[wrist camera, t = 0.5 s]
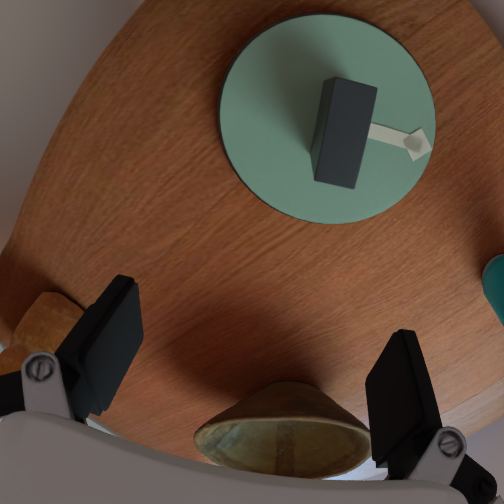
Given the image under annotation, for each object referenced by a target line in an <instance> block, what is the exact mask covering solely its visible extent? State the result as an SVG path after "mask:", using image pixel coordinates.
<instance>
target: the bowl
mask: <svg viewBox="0 0 504 504" xmlns="http://www.w3.org/2000/svg"><path fill="white" fill-rule="evenodd" d="M194 443H195V445H196V447H197V449H198V450H199V451H200V452H201V453H202V454H204V455H205V456H207V457H208V458H209V459H211V460H212V461H213V462H215V463H217V464H218V465H220V466H222V467H226V468H231V469H236V470H242V471H248V472H254V473H261V474H268V475H276V476H285V477H294V478H306V479H325V478H329V477H334V476H339V475H342V474H345V473H347V472H349V471H352V470H354V469H355V468H357V467H359V466H360V465H361V464H363V463H364V462H365V461H366V460H367V459H368V458H369V457H370V456H371V455H372V452H371V438H370V430H369V429H368V428H367V427H366V426H365V425H364V424H363V423H362V422H361V421H359V420H358V419H357V418H356V417H355V416H353V415H352V414H351V413H349V412H348V411H346V410H345V409H343V408H342V407H341V406H339V405H338V404H337V403H336V402H335V401H334V400H332V399H331V398H330V397H329V396H328V395H326V394H325V393H323V392H322V391H321V390H319V389H318V388H316V387H315V386H312V385H310V384H306V383H302V382H295V381H283V382H276V383H272V384H270V385H268V386H266V387H265V388H263V389H262V390H260V391H258V392H256V393H255V394H253V395H251V396H249V397H247V398H245V399H243V400H242V401H240V402H238V403H237V404H235V405H234V406H232V407H230V408H228V409H226V410H225V411H223V412H221V413H220V414H218V415H216V416H215V417H213V418H212V419H210V420H209V421H207V422H206V423H205V424H203V425H202V426H201V427H200V428H198V430H197V431H196V432H195V435H194Z"/></svg>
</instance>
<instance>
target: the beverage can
mask: <svg viewBox="0 0 504 504" xmlns="http://www.w3.org/2000/svg"><path fill="white" fill-rule="evenodd" d="M482 285H483V291H484V295H485V296H486V298H487V300H488V301H489V303H490V304H491V306H492V308H493V309H494V311H495V313H496V314H497V316H498V318H499V319H500V321H501V323H502V324H503V326H504V254H500V255H497V256H495V257H493V258H492V259H491V260H490V261H489V262H488V263H487V265H486V266H485V268H484V270H483V273H482Z"/></svg>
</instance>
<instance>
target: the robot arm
mask: <svg viewBox="0 0 504 504" xmlns="http://www.w3.org/2000/svg"><path fill="white" fill-rule="evenodd" d="M142 341H143V326H142V318H141V309H140V299H139V289H138V284H137V283H136V282H134V279H133V278H132V277H128V276H124V275H120V274H119V275H117V276H116V277H115V278H114V279H113V281H112V282H111V283H110V284H109V285H108V287H107V288H106V289H105V290H104V292H103V293H102V294H101V296H100V297H99V298H98V299H97V301H96V302H95V303H94V304H91V305H90V306H89V307H88V308H87V310H86V311H85V312H84V314H83V315H82V316H81V318H80V319H79V320H78V321H77V323H76V324H75V325H74V327H73V328H72V329H71V331H70V332H69V333H68V335H67V336H66V338H65V339H64V340H63V342H62V343H61V344H60V346H59V347H58V349H57V350H56V351H55V353H54V354H52V353H51V352H48V351H37V352H34V353H32V354H31V355H29V356H28V357H27V358H26V359H25V360H24V362H23V364H22V369H21V370H19V371H15V372H11V373H7V374H4V375H0V504H504V501H503V499H502V498H501V496H500V495H499V496H498V497H496V493H497V483H496V480H495V478H494V477H493V476H492V475H491V474H490V473H489V472H488V471H487V470H485V469H484V468H483V467H482V466H480V465H479V464H478V463H477V462H475V461H474V460H473V459H472V458H470V457H469V456H468V455H467V454H466V449H467V445H466V440H465V437H464V436H463V434H462V433H461V432H460V431H459V430H458V429H456V428H454V427H449V426H447V427H442V422H441V418H440V414H439V410H438V406H437V402H436V398H435V394H434V391H433V387H432V384H431V380H430V377H429V373H428V370H427V367H426V364H425V361H424V357H423V354H422V351H421V348H420V345H419V342H418V339H417V336H416V333H415V331H412V330H405V329H399V330H398V331H397V332H394V333H393V334H392V336H391V338H390V339H389V341H388V343H387V345H386V346H385V348H384V350H383V352H382V353H381V355H380V357H379V358H378V360H377V362H376V363H375V365H374V366H373V368H372V370H371V371H370V373H369V374H368V376H367V378H366V382H365V388H366V397H367V406H368V416H369V427H370V438H371V452H372V459H373V461H376V468H388V475H387V477H386V478H385V479H384V480H382V481H381V480H380V481H379V480H377V481H376V480H375V481H356V480H321V479H306V478H294V477H285V476H276V475H268V474H261V473H254V472H248V471H242V470H236V469H231V468H226V467H221V466H216V465H211V464H207V463H203V462H198V461H194V460H190V459H186V458H182V457H179V456H175V455H171V454H168V453H164V452H161V451H158V450H155V449H151V448H148V447H145V446H142V445H139V444H136V443H133V442H130V441H127V440H124V439H122V438H119V437H116V436H113V435H111V434H108V433H105V432H103V431H100V430H98V429H95V428H93V427H90V426H88V424H87V421H86V418H87V417H88V415H89V413H92V414H95V415H97V416H100V415H101V413H102V411H103V410H104V411H106V410H107V409H108V408H109V406H110V404H111V402H112V400H113V398H114V396H115V394H116V392H117V390H118V388H119V386H120V384H121V382H122V380H123V378H124V376H125V374H126V372H127V370H128V368H129V366H130V364H131V362H132V361H133V359H134V357H135V355H136V353H137V351H138V349H139V347H140V345H141V344H142Z"/></svg>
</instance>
